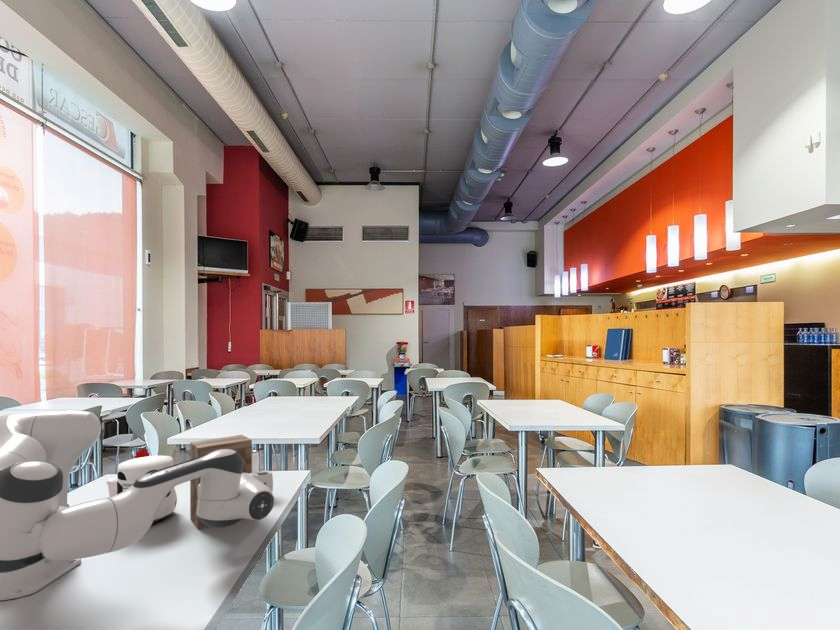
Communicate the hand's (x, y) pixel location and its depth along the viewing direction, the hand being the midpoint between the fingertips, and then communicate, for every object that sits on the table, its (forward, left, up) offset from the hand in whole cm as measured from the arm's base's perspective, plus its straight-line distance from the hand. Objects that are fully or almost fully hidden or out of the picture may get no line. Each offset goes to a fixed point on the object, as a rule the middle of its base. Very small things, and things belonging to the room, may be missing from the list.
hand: (228, 478), depth 141 cm
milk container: (+10, +27, -14) cm, 33 cm away
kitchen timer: (+42, +41, -14) cm, 61 cm away
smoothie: (+23, +41, -14) cm, 50 cm away
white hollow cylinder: (+27, -1, -14) cm, 31 cm away
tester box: (+7, +4, -14) cm, 16 cm away
